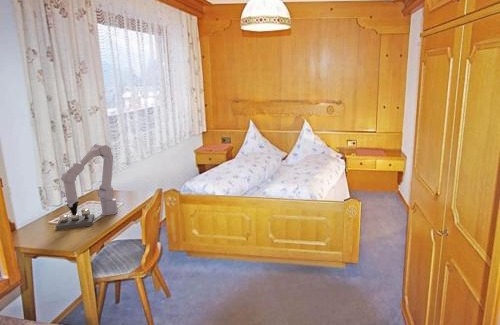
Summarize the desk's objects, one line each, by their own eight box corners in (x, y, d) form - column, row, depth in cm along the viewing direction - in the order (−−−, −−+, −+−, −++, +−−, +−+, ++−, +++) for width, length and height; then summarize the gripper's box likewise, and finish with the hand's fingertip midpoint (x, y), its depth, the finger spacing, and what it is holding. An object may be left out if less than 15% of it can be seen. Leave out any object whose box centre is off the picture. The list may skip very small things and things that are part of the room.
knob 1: (70, 223, 223) (68, 214, 221) (68, 225, 219) (67, 217, 217) (61, 224, 222) (60, 215, 220) (60, 227, 218) (58, 218, 216)
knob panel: (94, 217, 230) (94, 213, 229) (92, 225, 218) (91, 221, 218) (60, 222, 225) (60, 218, 224) (56, 230, 214) (55, 226, 213)
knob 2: (91, 216, 225) (89, 207, 224) (90, 219, 221) (88, 210, 220) (83, 217, 224) (81, 208, 223) (82, 220, 220) (80, 211, 219)
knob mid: (80, 221, 224) (79, 212, 223) (79, 224, 220) (78, 215, 219) (72, 222, 223) (71, 213, 222) (71, 225, 219) (70, 216, 218)
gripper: (66, 189, 223) (69, 211, 226) (60, 197, 209) (64, 220, 212) (78, 188, 224) (82, 209, 228) (74, 195, 211) (78, 218, 214)
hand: (74, 214), depth 220 cm, fingers closed, pressing on knob mid
